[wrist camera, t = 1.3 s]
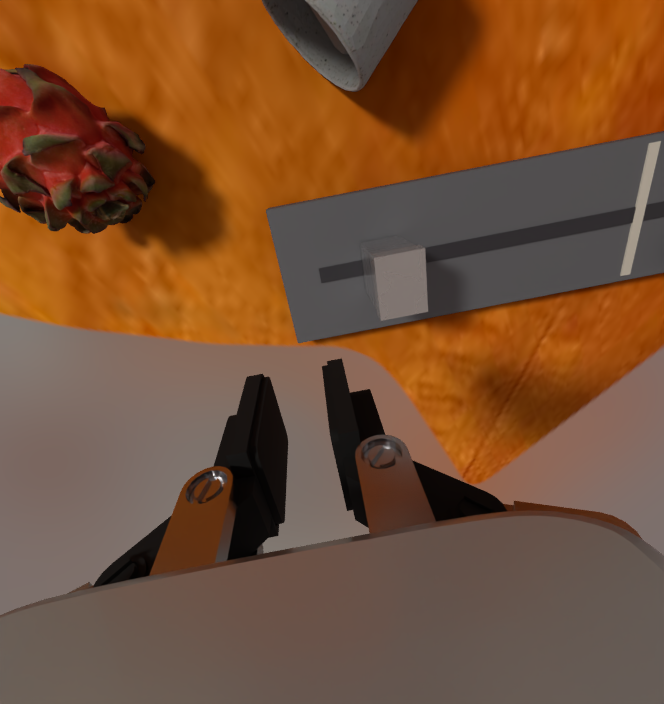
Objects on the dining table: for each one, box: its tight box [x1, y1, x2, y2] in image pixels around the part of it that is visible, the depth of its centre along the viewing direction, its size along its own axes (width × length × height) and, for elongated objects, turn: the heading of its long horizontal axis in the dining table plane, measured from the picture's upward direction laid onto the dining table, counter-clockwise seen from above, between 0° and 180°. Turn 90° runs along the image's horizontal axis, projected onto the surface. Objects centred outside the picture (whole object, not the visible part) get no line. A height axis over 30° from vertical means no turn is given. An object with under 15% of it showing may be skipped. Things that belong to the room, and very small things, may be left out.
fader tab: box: [360, 235, 428, 321], centre depth 25 cm, size 4×3×6 cm
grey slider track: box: [266, 131, 664, 343], centre depth 28 cm, size 11×36×4 cm, turn 100°
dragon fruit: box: [0, 64, 155, 234], centre depth 21 cm, size 8×8×12 cm
